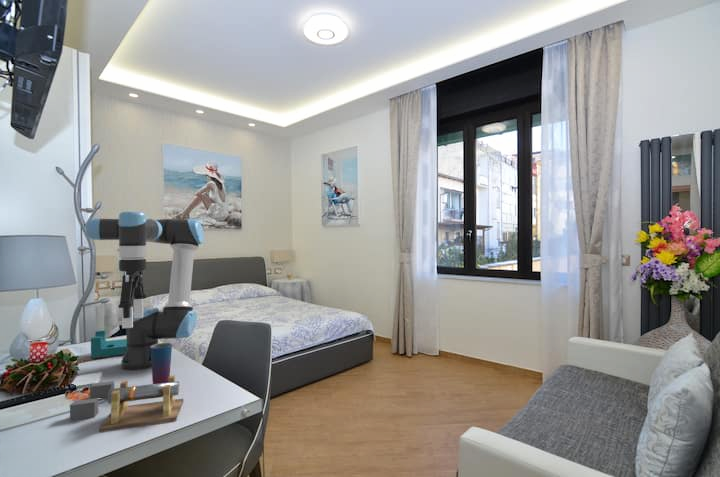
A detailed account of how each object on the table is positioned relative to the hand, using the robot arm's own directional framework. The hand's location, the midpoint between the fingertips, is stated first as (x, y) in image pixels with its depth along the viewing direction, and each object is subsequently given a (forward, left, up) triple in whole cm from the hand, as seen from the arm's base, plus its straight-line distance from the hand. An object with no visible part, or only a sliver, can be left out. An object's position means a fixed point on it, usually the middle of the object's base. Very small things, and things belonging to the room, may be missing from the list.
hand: (133, 322), depth 115 cm
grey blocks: (+1, -11, -26) cm, 28 cm away
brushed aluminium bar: (+13, +6, -21) cm, 25 cm away
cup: (-9, +6, -26) cm, 28 cm away
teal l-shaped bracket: (-59, -22, -26) cm, 68 cm away
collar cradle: (+13, +7, -26) cm, 29 cm away
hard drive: (-24, -21, -26) cm, 41 cm away
